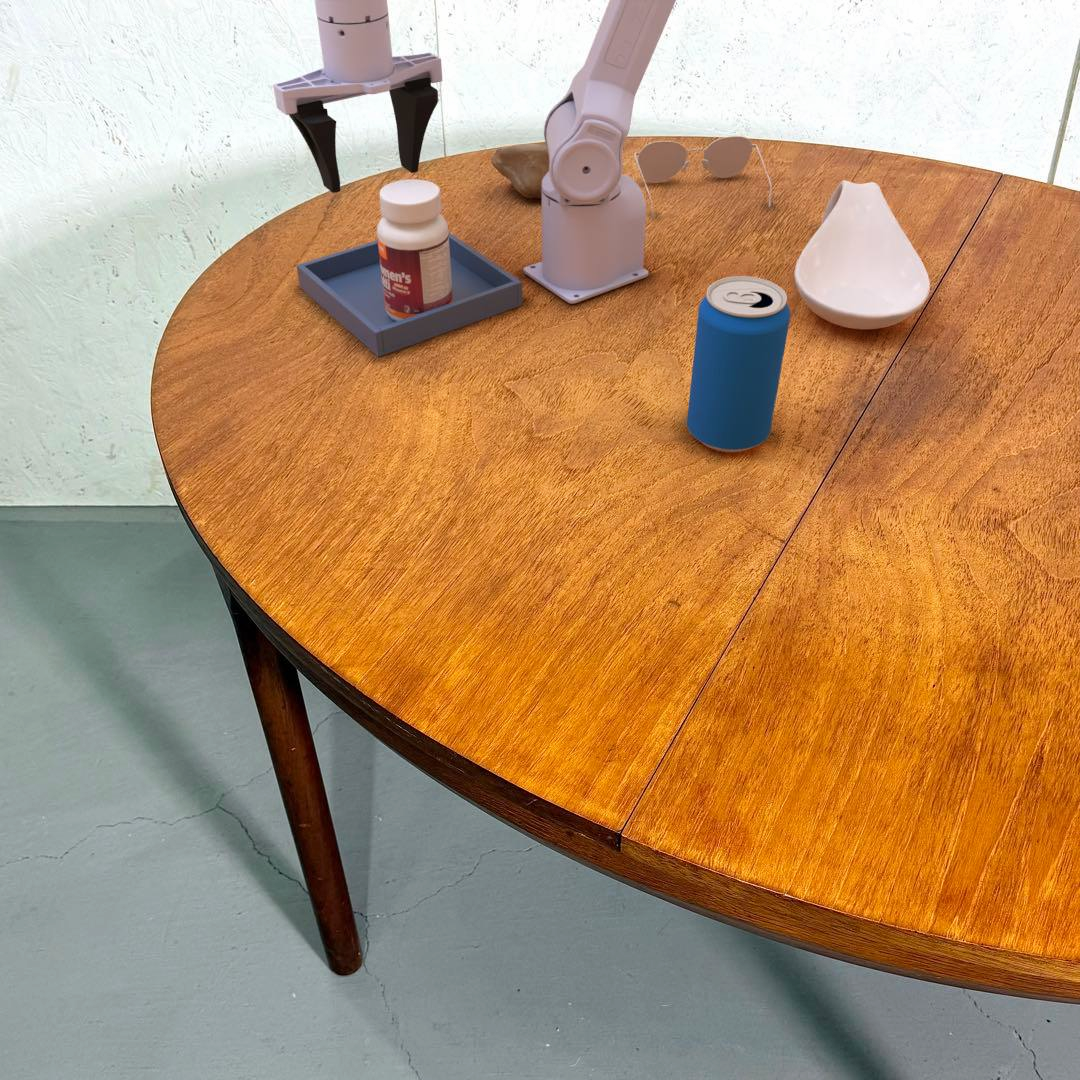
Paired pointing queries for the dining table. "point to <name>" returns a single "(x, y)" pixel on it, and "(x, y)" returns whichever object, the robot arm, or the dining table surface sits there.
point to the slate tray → (358, 305)
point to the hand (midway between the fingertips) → (371, 178)
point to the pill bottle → (413, 249)
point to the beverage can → (737, 362)
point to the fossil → (523, 167)
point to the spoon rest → (861, 263)
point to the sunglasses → (670, 157)
